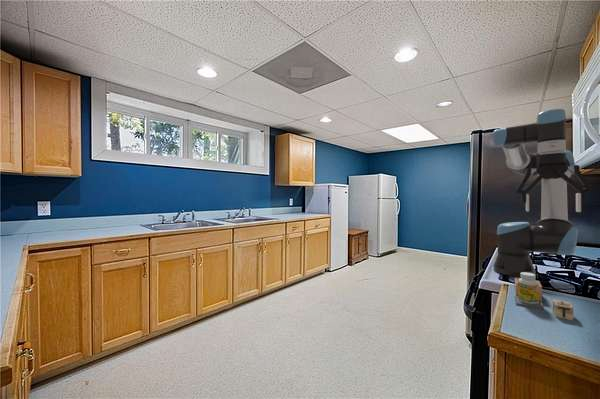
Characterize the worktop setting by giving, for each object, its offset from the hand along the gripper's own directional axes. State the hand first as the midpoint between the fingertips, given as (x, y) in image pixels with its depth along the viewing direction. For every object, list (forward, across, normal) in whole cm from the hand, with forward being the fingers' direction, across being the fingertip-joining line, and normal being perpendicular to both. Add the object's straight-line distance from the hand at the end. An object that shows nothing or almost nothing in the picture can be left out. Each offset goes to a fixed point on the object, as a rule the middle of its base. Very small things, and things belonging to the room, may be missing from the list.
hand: (551, 211), depth 96 cm
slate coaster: (+31, -8, -14) cm, 35 cm away
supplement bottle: (+30, -8, -14) cm, 34 cm away
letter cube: (+31, 0, -20) cm, 37 cm away
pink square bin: (+31, -8, -6) cm, 32 cm away
